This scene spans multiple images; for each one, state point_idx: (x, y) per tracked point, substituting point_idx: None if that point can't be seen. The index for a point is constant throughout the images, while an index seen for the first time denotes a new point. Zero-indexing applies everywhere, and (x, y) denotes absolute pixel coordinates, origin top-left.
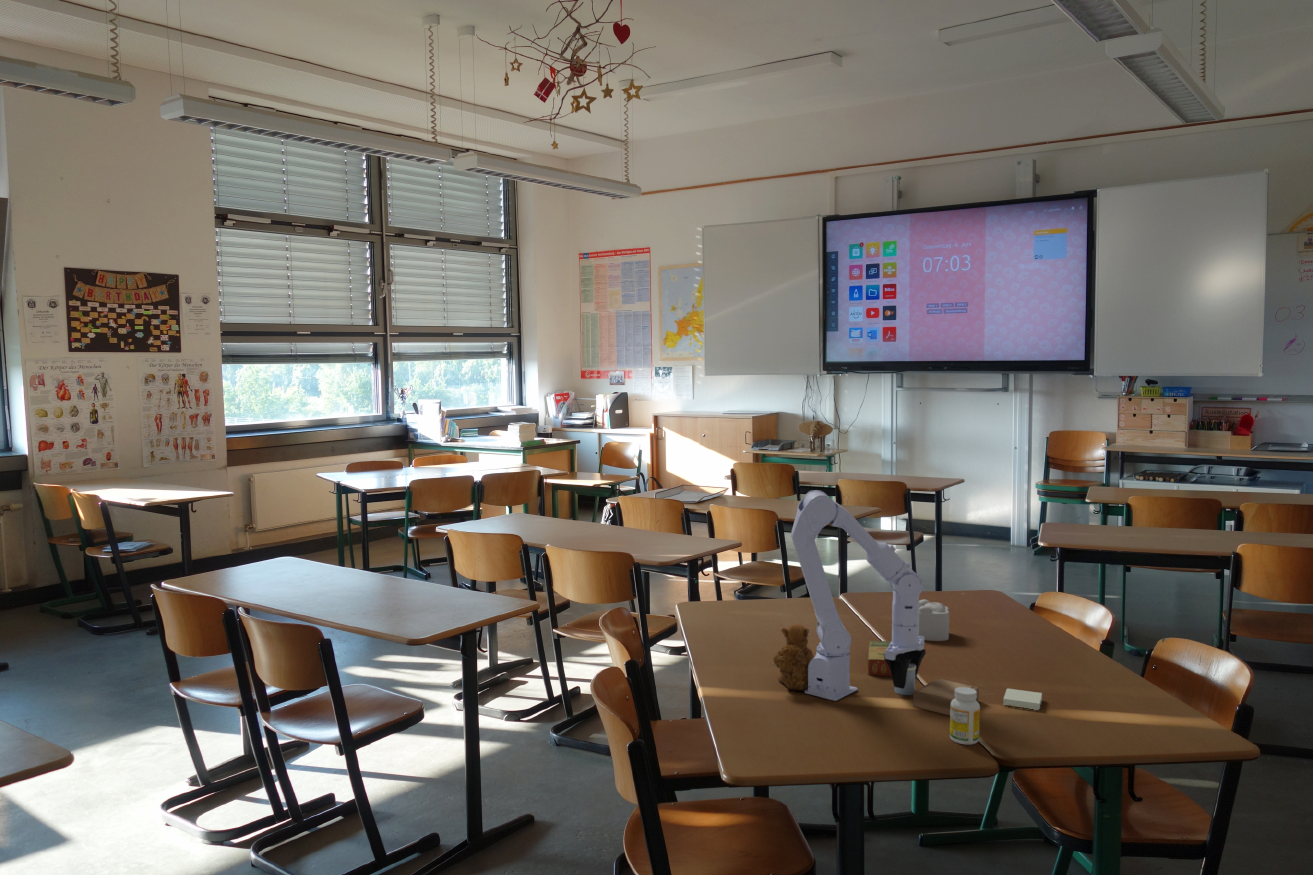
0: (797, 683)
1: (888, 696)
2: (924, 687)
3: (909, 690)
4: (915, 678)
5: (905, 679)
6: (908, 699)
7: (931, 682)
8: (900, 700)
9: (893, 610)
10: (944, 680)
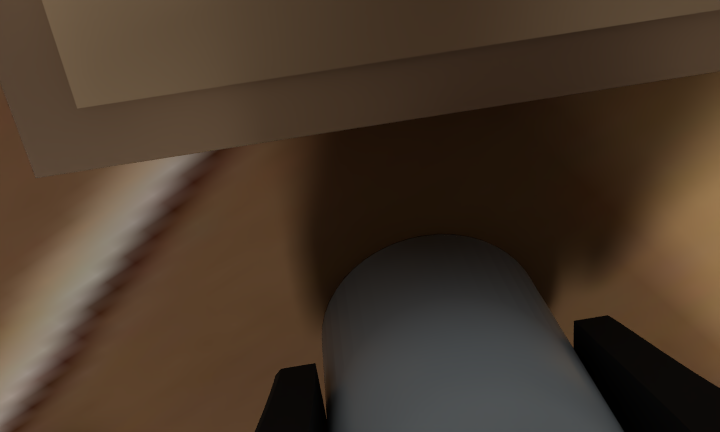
0: None
1: (674, 340)
2: (658, 45)
3: (505, 271)
4: (292, 390)
5: (646, 374)
6: (631, 168)
7: (343, 116)
8: (715, 203)
9: None
10: (79, 5)
